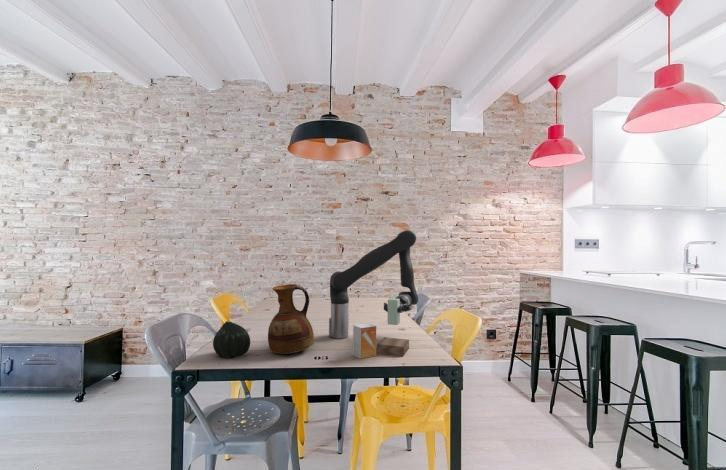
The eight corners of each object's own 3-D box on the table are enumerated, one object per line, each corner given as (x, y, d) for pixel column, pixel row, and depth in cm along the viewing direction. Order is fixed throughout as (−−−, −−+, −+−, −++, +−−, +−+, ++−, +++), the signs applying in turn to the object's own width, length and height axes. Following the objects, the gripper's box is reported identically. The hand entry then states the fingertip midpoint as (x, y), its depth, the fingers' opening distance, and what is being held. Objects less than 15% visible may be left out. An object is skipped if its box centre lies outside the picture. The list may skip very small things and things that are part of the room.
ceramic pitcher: (264, 347, 169) (265, 282, 170) (307, 342, 177) (308, 280, 178) (271, 360, 151) (272, 287, 152) (319, 354, 159) (319, 285, 160)
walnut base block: (376, 353, 162) (376, 344, 162) (384, 345, 173) (384, 337, 173) (403, 356, 158) (403, 346, 158) (409, 348, 169) (409, 339, 169)
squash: (254, 345, 153) (248, 314, 161) (216, 352, 145) (212, 319, 154) (249, 361, 162) (243, 330, 171) (213, 368, 155) (209, 336, 163)
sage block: (387, 324, 164) (387, 299, 164) (390, 322, 169) (390, 298, 169) (397, 325, 163) (397, 300, 163) (399, 322, 167) (399, 298, 167)
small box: (360, 359, 153) (360, 328, 154) (352, 355, 159) (352, 325, 159) (376, 356, 158) (376, 325, 158) (368, 352, 163) (368, 322, 163)
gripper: (386, 295, 182) (377, 300, 166) (415, 296, 177) (408, 302, 161) (387, 310, 182) (377, 317, 166) (415, 312, 177) (408, 319, 161)
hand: (392, 310), depth 164 cm, fingers closed on sage block, 4 cm apart
